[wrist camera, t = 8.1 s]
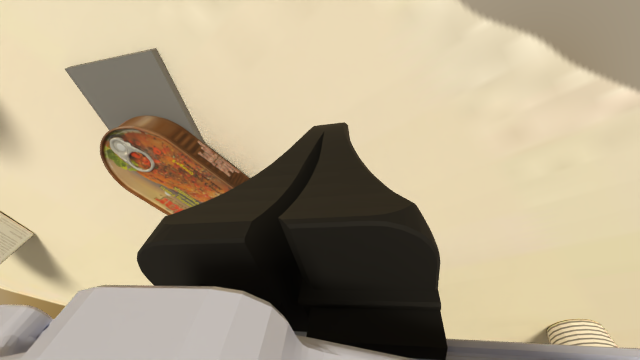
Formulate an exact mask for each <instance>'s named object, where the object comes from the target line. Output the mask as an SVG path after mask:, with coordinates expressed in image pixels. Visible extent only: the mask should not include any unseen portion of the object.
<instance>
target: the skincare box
mask: <svg viewBox="0 0 640 360" xmlns="http://www.w3.org/2000/svg"><path fill="white" fill-rule="evenodd" d="M33 235H34V234H33V233H32V232H31V231H29V230H27V229H26V228H24V227H23V226H21V225H20V224H18V223H16V222H15V221H13V220H12V219H10V218H9V217H7V216H5V215H4V214H2V213H1V212H0V264H1V263H2V262H3V261H5V260H6V259H7V258H8V257H9V256H10V255H11V254H13V253H14V252H15V251H16V250H17V249H18V248H19V247H21V246H22V245H23V244H24V243H25V242H26V241H27V240H29V239H30V238H31V237H32V236H33Z"/></svg>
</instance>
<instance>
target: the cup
mask: <svg viewBox="0 0 640 360" xmlns="http://www.w3.org/2000/svg"><path fill="white" fill-rule="evenodd" d="M547 336H548V339H549V342H550V344H558V345H578V346H598V347H618V346H617V345H616V343H615V342H614V341H613V339H612V338H611V337H610V335H609V334H608V333H607V331H606V330H605V329H604V327H603V326H602V325H601V324H599V323H597V322H594V321H591V320H582V319H578V320H567V321H563V322H559V323H556V324H554V325H552V326H551V327H550V328H549V329H548V330H547ZM618 348H619V347H618Z"/></svg>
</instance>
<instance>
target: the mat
mask: <svg viewBox="0 0 640 360" xmlns="http://www.w3.org/2000/svg"><path fill="white" fill-rule="evenodd" d="M65 70H66V72H67V73H68V74H69V76H70V77H71V78H72V80H73V81H74V83H75V84H76V85H77V87H78V88H79V89H80V91H81V92H82V94H83V95H84V96H85V98H86V99H87V100H88V102H89V103H90V105H91V106H92V107H93V109H94V110H95V111H96V113H97V114H98V115H99V117H100V118H101V120H102V121H103V122H104V124H105V125H106V126H107V128H108V129H109V131H110V130H112V129H114V128H117V127H118V126H120V125H121V124H122V123H124V122H126V121H127V120H129V119H131V118H134V117H138V116H147V115H148V116H157V117H162V118H165V119H168V120H170V121H172V122H175V123H177V124H178V125H180V126H182V127H183V128H184V129H186V130H187V131H189V132H190V133H191V134H192V135H194V136H195V137H196V138H198V139H199V140H200V141H202V142H203V143H204V144H205V142H204V140H203V139H202V137H201V135H200V133H199V131H198V129H197V127H196V125H195V123H194V121H193V119H192V117H191V115H190V113H189V111H188V109H187V107H186V106H185V104H184V102H183V100H182V98H181V96H180V94H179V92H178V90H177V88H176V86H175V84H174V82H173V80H172V78H171V76H170V74H169V73H168V71H167V69H166V67H165V65H164V63H163V61H162V59H161V57H160V55H159V53H158V51H157V49H156V48H155V49H150V50H146V51H141V52H136V53H132V54H127V55H122V56H118V57H113V58H108V59H104V60H99V61H94V62H90V63H85V64H80V65H76V66H71V67H68V68H66V69H65ZM205 145H206V144H205Z"/></svg>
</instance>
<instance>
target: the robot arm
mask: <svg viewBox="0 0 640 360" xmlns="http://www.w3.org/2000/svg"><path fill="white" fill-rule="evenodd" d="M137 261H138V264H139V267H140V269H141V271H142V272H143V274H144V275H145V276H146V277H147V279H148V280H149V281H150V282H151V283H152V284H153V285H154V286H138V285H102V286H98V287H93V288H89V289H85V290H81V291H78V293H77V294H76V295H75V296H74V297H73V298H72V300H71V301H70V302H69V303H68V304H67V305H66V307H65V308H64V309H63V310H62V311H61V312H60V314H59V315H58V316H57V317H56V318H55V319H52V318H51V316H49V315H48V314H47V313H45V312H43V311H42V310H40V309H38V308H35V307H32V306H28V305H10V304H9V305H8V304H3V305H0V360H640V349H638V348H618V347H598V346H578V345H558V344H538V343H518V342H499V341H479V340H459V339H446V337H445V332H444V327H443V322H442V317H441V312H440V310H441V302H440V297H439V292H438V280H439V270H440V255H439V251H438V247H437V244H436V242H435V239H434V237H433V235H432V233H431V230H430V228H429V226H428V225H427V223H426V221H425V219H424V217H423V216H422V214H421V212H420V210H419V209H418V207H417V206H416V205H415V204H414V203H412V202H411V201H409V200H407V199H405V198H403V197H402V196H400V195H398V194H396V193H394V192H393V191H392V190H390V189H389V188H388V187H386V186H385V185H384V184H383V183H382V182H381V181H380V180H378V179H377V178H376V177H375V176H374V175H373V174H372V173H371V172H370V171H369V170H368V168H367V167H366V166H365V165H364V163H363V162H362V161H361V159H360V158H359V156H358V155H357V153H356V151H355V150H354V148H353V146H352V144H351V141H350V137H349V130H348V125H347V124H346V123H345V122H344V123H336V124H328V125H319V126H314V127H312V128H311V129H310V130H309V131H308V132H307V133H306V134H305V135H304V136H303V137H302V138H301V139H299V140H298V141H297V142H296V143H295V144H294V145H293V146H292V147H291V148H290V149H289V150H288V151H286V152H285V153H284V154H283V155H282V156H281V157H279V158H278V159H277V160H276V161H275V162H273V163H272V164H271V165H270V166H268V167H267V168H265V169H264V170H263V171H261V172H260V173H258V174H257V175H255V176H254V177H252V178H250V179H249V180H247V181H245V182H243V183H242V184H240V185H238V186H236V187H235V188H233V189H231V190H229V191H227V192H225V193H223V194H221V195H219V196H217V197H214V198H212V199H210V200H208V201H205V202H203V203H201V204H198V205H195V206H193V207H190V208H187V209H185V210H182V211H179V212H176V213H174V214H171V215H168V216H165V217H164V218H163V219H162V221H161V222H160V223H159V225H158V226H157V227H156V229H155V230H154V231H153V233H152V234H151V235H150V237H149V238H148V239H147V241H146V242H145V243H144V245H143V246H142V247H141V249H140V250H139V251H138V254H137Z"/></svg>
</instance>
